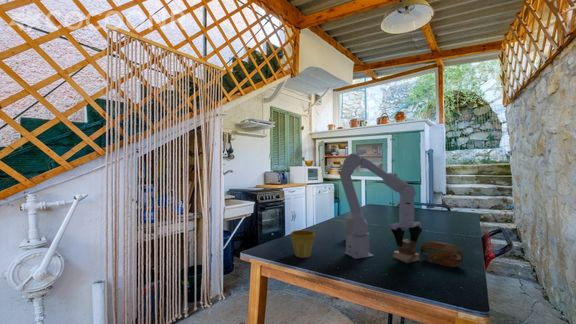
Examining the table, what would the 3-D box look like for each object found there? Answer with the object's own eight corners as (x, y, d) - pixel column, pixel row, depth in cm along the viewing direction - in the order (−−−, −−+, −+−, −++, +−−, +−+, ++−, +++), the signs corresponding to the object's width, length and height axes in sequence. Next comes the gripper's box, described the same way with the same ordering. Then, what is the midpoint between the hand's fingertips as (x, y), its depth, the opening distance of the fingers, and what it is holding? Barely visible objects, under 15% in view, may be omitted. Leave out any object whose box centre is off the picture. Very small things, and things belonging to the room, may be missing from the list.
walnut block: (407, 255, 109) (407, 242, 109) (398, 251, 114) (398, 239, 114) (415, 254, 111) (415, 241, 111) (406, 250, 115) (407, 239, 115)
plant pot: (297, 250, 123) (297, 228, 123) (318, 254, 118) (318, 231, 118) (286, 256, 114) (286, 233, 114) (308, 261, 109) (308, 236, 109)
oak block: (407, 263, 108) (407, 256, 108) (393, 258, 114) (393, 251, 114) (419, 261, 111) (419, 254, 111) (405, 256, 117) (405, 249, 117)
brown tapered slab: (420, 260, 111) (420, 239, 111) (422, 258, 114) (422, 238, 114) (462, 269, 101) (462, 247, 101) (464, 267, 104) (464, 245, 104)
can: (356, 243, 134) (356, 219, 134) (342, 241, 139) (342, 217, 139) (362, 240, 140) (362, 217, 140) (348, 237, 145) (349, 215, 145)
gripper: (400, 215, 106) (400, 249, 106) (427, 213, 112) (427, 246, 112) (387, 212, 113) (387, 244, 113) (413, 210, 118) (413, 241, 118)
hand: (406, 245), depth 113 cm, fingers open, 7 cm apart
